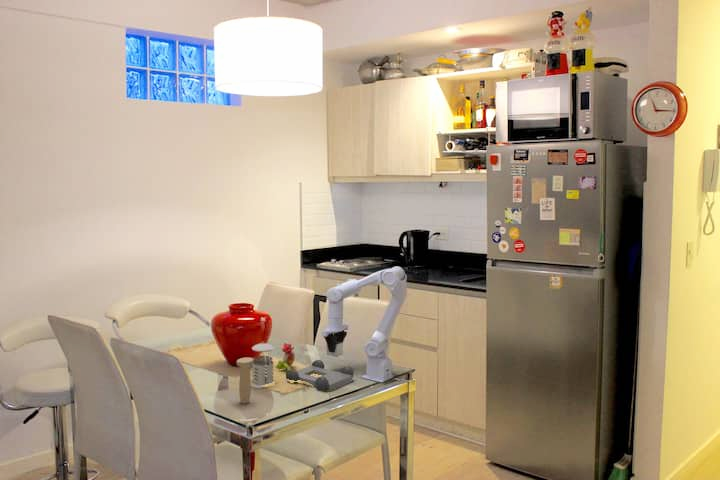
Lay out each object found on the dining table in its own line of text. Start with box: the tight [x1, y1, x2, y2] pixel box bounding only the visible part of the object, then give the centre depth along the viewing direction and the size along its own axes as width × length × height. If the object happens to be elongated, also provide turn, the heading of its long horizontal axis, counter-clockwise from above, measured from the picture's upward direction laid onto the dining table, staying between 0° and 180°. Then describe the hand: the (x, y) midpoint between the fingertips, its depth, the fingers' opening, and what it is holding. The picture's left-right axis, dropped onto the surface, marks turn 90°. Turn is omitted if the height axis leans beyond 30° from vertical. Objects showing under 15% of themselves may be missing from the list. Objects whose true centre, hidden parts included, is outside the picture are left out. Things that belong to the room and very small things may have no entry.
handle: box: [236, 356, 254, 405], centre depth 242 cm, size 5×6×15 cm
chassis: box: [285, 359, 354, 392], centre depth 267 cm, size 20×17×5 cm
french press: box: [251, 317, 275, 389], centre depth 261 cm, size 10×12×25 cm
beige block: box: [326, 341, 344, 358], centre depth 279 cm, size 5×4×5 cm
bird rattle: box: [275, 342, 296, 371], centre depth 281 cm, size 6×11×9 cm
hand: (334, 350), depth 279 cm, fingers closed on beige block, 4 cm apart
